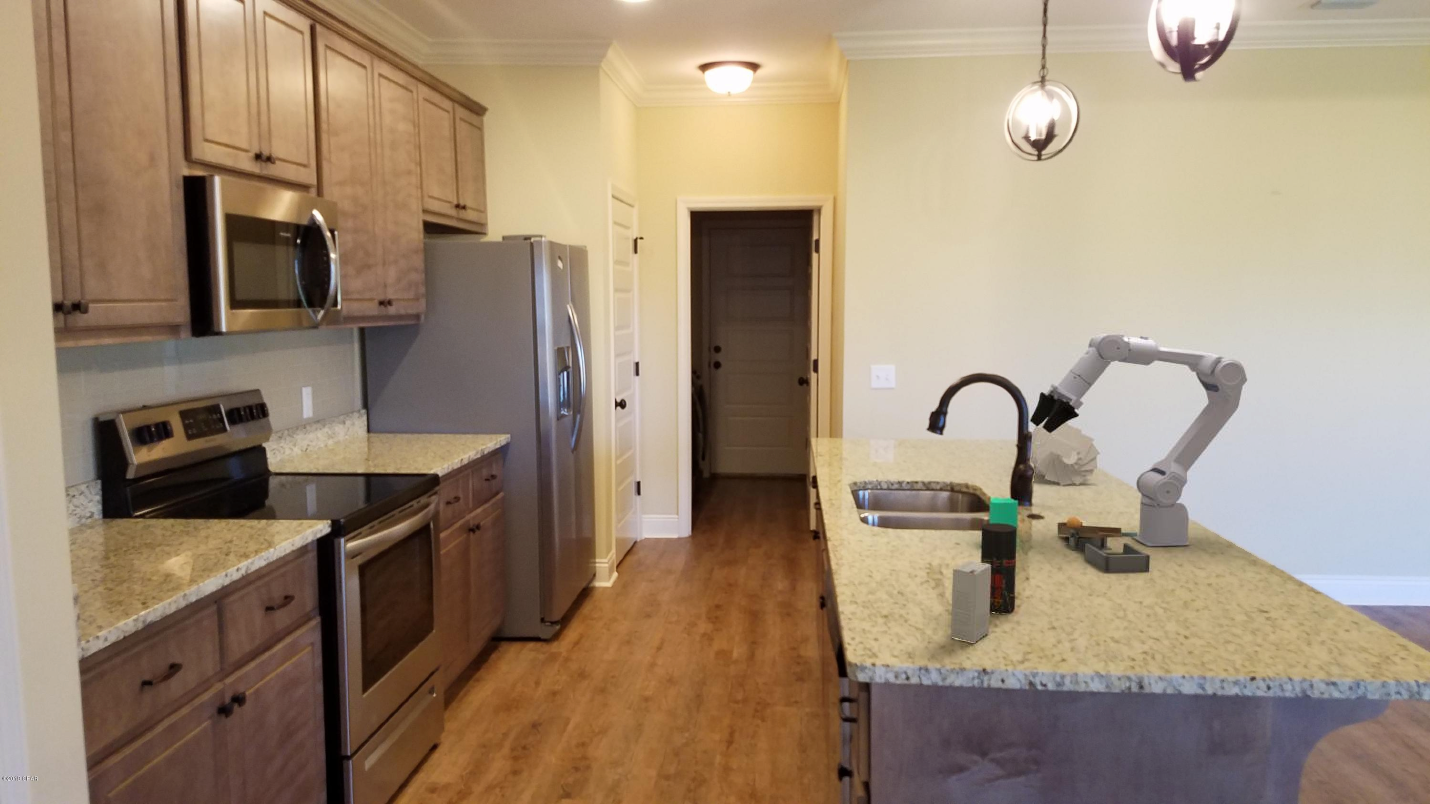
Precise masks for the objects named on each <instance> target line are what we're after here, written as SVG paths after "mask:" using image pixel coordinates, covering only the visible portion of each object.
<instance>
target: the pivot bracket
mask: <svg viewBox="0 0 1430 804" xmlns="http://www.w3.org/2000/svg"><path fill="white" fill-rule="evenodd" d="M1068 537H1069V538H1068V539H1069V541H1068V542H1069V543H1064V546H1066V548H1068V549H1070V550H1072V551H1073V552H1075V551H1078V552H1079V551H1085V544H1090V545H1092V546H1093V547H1095V548H1097V549H1098V550H1100V551H1109V550H1111V551H1112V549H1113V548H1112V547H1110V546H1108V538H1090V537H1079V536H1077V532H1076V531H1074V530H1070V532H1069V536H1068Z"/></svg>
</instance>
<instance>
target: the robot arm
mask: <svg viewBox="0 0 1430 804" xmlns="http://www.w3.org/2000/svg"><path fill="white" fill-rule="evenodd" d="M1156 361H1157V362H1158V361H1159V362H1163V363H1168V364H1169V363H1170V364H1177V365H1182V366H1187V367H1188V368H1189V370H1190V371H1191V372H1194V373H1195V375H1196V378H1197V379H1198V381H1199V383H1200V384H1201V386H1202V388H1203V389H1204V390H1205V392H1206V396H1207V401H1208V402H1207V404H1206V405H1205V406H1204V408H1203V409H1202V410H1201V412H1200V413H1199V414H1198V416H1197V417H1196V418H1195V419H1194V420H1193V422H1192V423H1191V424H1190V425H1189V427H1188V428H1187V430H1185V432H1184V433H1183V434H1182V436H1181V437H1180V438H1179V440H1178V441H1177V442H1176V443H1175V445H1174V446H1173V447H1172V448H1171V449H1170V451H1169V452H1168V453H1167V455H1166V456H1165V457H1164V458H1162V459H1161V460H1159V461H1157V462H1154V463H1153V465H1152V466H1151V467H1150V468H1149V469H1147V470H1145V471H1143V472H1141V473H1140V474H1139V476H1138V477H1137V479H1136V483H1135V484H1136V489H1137V491H1138V493H1139V494H1141V497H1140V500H1139V501H1140V504H1139V526H1138V527H1139V528H1138V529H1139V530H1138V532H1139V533H1138V534H1137V535H1138V536H1137V537H1131V538H1132V539H1134V540H1136V541H1137V542H1140V543H1142V544H1143V545H1145V546H1147V547H1166V546H1167V547H1168V546H1170V547H1171V546H1173V547H1174V546H1177V547H1178V546H1189V545H1190V542H1189V541H1188V540H1189V520H1190V519H1189V511H1188V508H1187V506H1186V505H1185V504H1183V503H1182V502H1179V500H1180V499H1181V496H1182V492H1183V489H1184V487H1185V486H1186V485H1187V483H1188V471H1189V470H1190V469H1191V468H1192V466H1193V465H1194V464H1195V463H1196V462H1197V460H1198V459H1199V458H1200V457H1201V455H1202V454H1203V452H1205V450H1206V449H1207V448H1208V446H1209V445H1210V444H1211V443H1212V442H1213V440H1214V439H1215V437H1217V436H1218V434H1219V433H1220V431H1222V429H1223V428H1224V427H1225V425H1226V424H1227V423H1228V421H1229V420H1230V419H1231V418H1232V416H1233V415H1234V414H1235V413H1236V412H1237V409H1238V408H1239V405H1240V401H1241V395H1242V391H1243V387H1244V385H1245V384H1246V383H1247V381H1248V378H1247V373H1246V370H1245V367H1244V365H1243V364H1242V363H1241V362H1240V361H1239V360H1236V359H1233V358H1232V359H1231V358H1228V359H1227V358H1225V357H1224V356H1221V355H1217V354H1212V353H1209V352H1205V351H1199V350H1191V349H1190V350H1189V349H1180V348H1172V347H1162V346H1158V344H1156V342H1155V341H1154V340H1153V339H1149V336H1145V335H1140V336H1139V337H1133V336H1126V334H1124V333H1118V334H1110V333H1109V334H1108V333H1100V334H1097V335H1096V336H1094V337H1092V338H1091V339H1090V340H1089V342H1088V349H1087V350H1086V351H1085V353H1083V354H1082V355H1081V357H1080V358H1079V359H1078V360H1077V362H1076V363H1075V364H1074V365H1073V366H1072V367H1071V369H1070V370H1069V371H1068V372H1067V373H1066V375H1065V376H1064V377H1063V378H1062V379H1061V381H1059V383H1058V384H1057V385H1056V384H1053V383H1051V384H1050V388H1049V389H1048V390H1047V391H1046V392H1042V391H1041V392H1040V393H1039V398H1038V402H1037V405H1036V407H1035V409H1034V411H1033V413H1032V416H1031V417H1030V418H1029V419H1030V420H1029V422H1030V423H1032V424H1033V425H1034V426H1035V427H1036V426H1037V427H1039V426H1041V425H1042V424H1044V425H1043V427H1042V428H1044V429H1045V430H1046V431H1047V432H1049V433H1052V432H1053V431H1054V430H1056V429H1057V428H1058V427H1060V426H1061V425H1062V424H1064V423H1067V422H1069V421H1071V420H1073V419H1076V418H1078V417H1079V416H1080V414H1079V413H1078V412H1076V410H1077V411H1078V410H1080V408H1081V407H1082V406H1083V405H1084V402H1083V401H1082V398H1083V397H1084V396H1085V395H1086V394H1087V393H1088V391H1089V390H1090V389H1091V388H1092V387H1093V385H1094V384H1095V383H1096V382H1097V381H1098V379H1099V378H1101V376H1102V375H1103V374H1104V372H1105V371H1106V369H1107V368H1108V367H1109V366H1110V364H1111V363H1113V362H1118V363H1125V364H1132V365H1141V366H1150V365H1151V364H1153V363H1155V362H1156Z"/></svg>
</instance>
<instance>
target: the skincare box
mask: <svg viewBox="0 0 1430 804" xmlns="http://www.w3.org/2000/svg"><path fill="white" fill-rule="evenodd" d="M990 583H991V565H990V564H985V563H981V562H978V561H973V560H967V561H965V562H964V563H961V564H959V565H958V566H957V567H955V568H953V569H952V587H951V592H952V593H951V619H950V620H951V621H950V638H951V637H954V638H958V639H961V640H966V641H970V642H973V643H974V642H975V643H977V642H978V641H980V640H981V639H983V638H984V637H985V636H987V635H988V634H990V633H989V632H990V614H991V613H990ZM986 634H987V635H986ZM983 636H984V637H983ZM980 638H981V639H980ZM979 639H980V640H979ZM977 640H978V641H977ZM976 641H977V642H976ZM975 643H974V644H975Z"/></svg>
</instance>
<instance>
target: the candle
mask: <svg viewBox="0 0 1430 804" xmlns="http://www.w3.org/2000/svg"><path fill="white" fill-rule="evenodd" d="M1018 507H1019V501H1018V500H1014V499H1013V498H1011V497H1003V498H1002V497H991V498H990V500H989V523H1002V524H1009V525H1013V526H1015V527H1016V528H1017V529H1018V511H1019V508H1018ZM1017 547H1018V535H1017V536H1016V548H1017Z"/></svg>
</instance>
